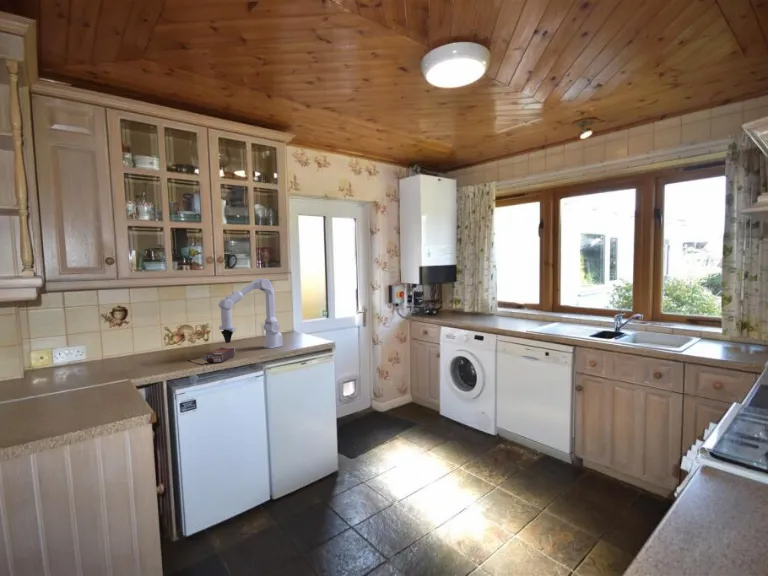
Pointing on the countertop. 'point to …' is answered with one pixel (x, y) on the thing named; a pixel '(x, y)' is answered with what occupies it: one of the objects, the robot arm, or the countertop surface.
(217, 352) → the supplement box
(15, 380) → the countertop surface
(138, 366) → the countertop surface
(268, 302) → the robot arm
